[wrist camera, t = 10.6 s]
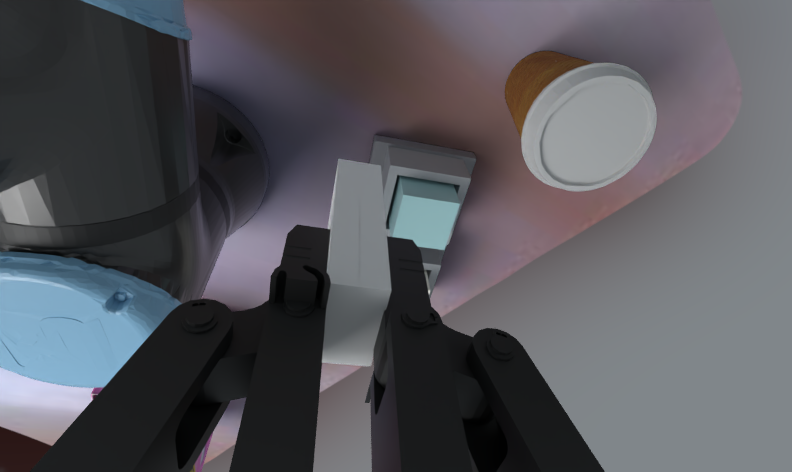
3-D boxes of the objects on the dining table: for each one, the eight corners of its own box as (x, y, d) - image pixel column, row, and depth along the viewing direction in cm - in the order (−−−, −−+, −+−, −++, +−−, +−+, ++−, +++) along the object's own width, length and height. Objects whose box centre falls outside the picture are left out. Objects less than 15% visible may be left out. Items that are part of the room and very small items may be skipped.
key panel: (345, 277, 53) (344, 310, 48) (374, 134, 43) (376, 159, 38) (427, 287, 54) (434, 320, 50) (473, 152, 44) (486, 178, 40)
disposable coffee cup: (588, 15, 38) (668, 47, 28) (592, 119, 43) (660, 176, 33) (478, 50, 39) (518, 93, 29) (495, 147, 44) (534, 211, 35)
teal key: (387, 213, 44) (390, 242, 40) (399, 167, 41) (403, 194, 37) (436, 220, 45) (444, 250, 41) (450, 176, 42) (460, 203, 38)
